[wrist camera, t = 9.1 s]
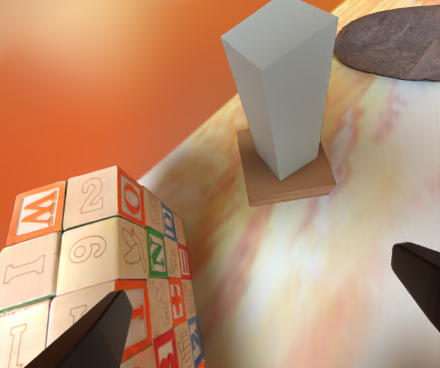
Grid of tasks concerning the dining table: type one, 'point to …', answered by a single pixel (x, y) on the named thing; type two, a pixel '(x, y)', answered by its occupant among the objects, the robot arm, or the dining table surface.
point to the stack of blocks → (97, 270)
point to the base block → (288, 187)
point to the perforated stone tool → (394, 43)
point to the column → (283, 79)
